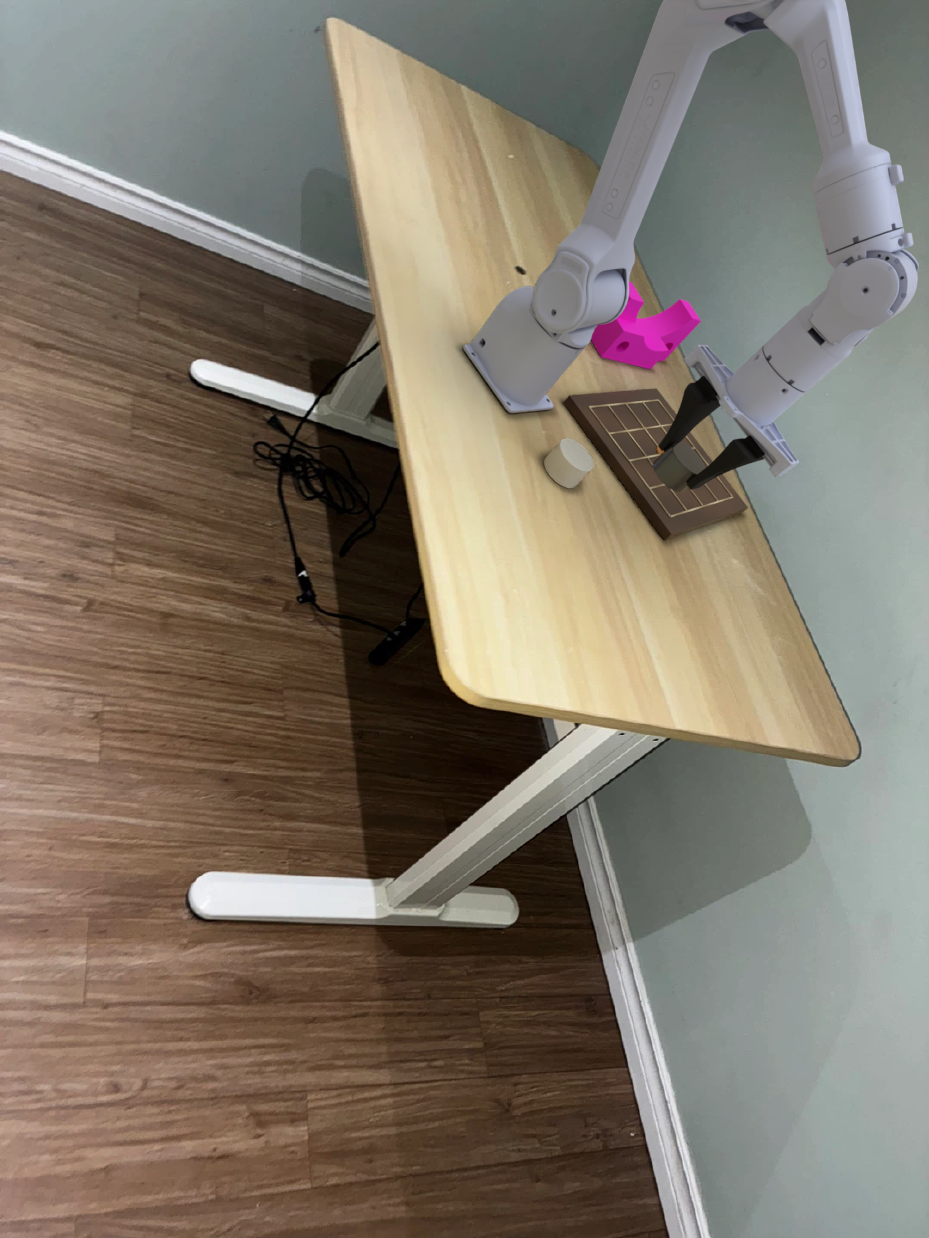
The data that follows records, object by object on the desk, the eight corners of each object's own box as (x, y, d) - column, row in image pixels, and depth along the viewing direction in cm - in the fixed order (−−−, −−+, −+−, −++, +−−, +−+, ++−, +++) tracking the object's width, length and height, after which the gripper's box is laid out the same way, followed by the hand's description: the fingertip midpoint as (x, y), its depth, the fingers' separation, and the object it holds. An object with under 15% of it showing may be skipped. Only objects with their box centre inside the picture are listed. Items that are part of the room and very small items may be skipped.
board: (562, 402, 94) (569, 394, 93) (650, 394, 108) (657, 387, 107) (664, 540, 89) (672, 533, 89) (741, 513, 104) (749, 507, 103)
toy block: (601, 357, 106) (639, 312, 101) (581, 323, 108) (617, 277, 103) (671, 374, 115) (709, 334, 110) (651, 342, 118) (688, 302, 113)
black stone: (645, 460, 82) (665, 442, 80) (667, 456, 85) (686, 439, 83) (671, 495, 81) (691, 477, 79) (692, 490, 84) (711, 472, 82)
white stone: (536, 457, 84) (552, 439, 83) (561, 453, 88) (577, 436, 86) (560, 491, 83) (577, 473, 82) (584, 485, 87) (601, 468, 85)
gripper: (717, 307, 72) (616, 413, 81) (819, 434, 68) (702, 529, 77) (751, 309, 77) (652, 409, 86) (847, 428, 73) (734, 519, 82)
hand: (678, 466), depth 82 cm, fingers closed on black stone, 4 cm apart
